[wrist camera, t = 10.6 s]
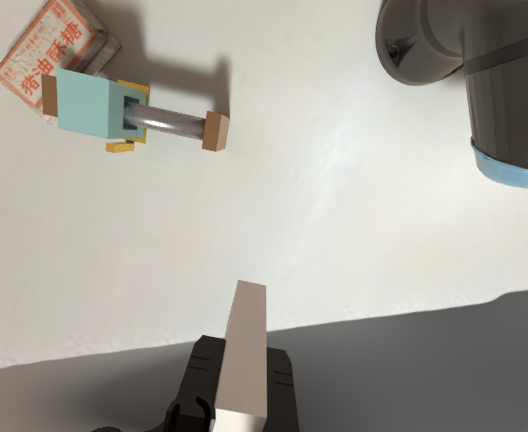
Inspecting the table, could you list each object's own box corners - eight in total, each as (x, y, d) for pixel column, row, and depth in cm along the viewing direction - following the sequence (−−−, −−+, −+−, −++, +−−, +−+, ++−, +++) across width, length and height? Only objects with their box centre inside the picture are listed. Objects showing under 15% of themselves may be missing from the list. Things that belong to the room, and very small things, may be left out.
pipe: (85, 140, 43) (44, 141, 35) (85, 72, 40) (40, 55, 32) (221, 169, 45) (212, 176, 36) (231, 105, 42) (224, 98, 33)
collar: (105, 129, 41) (58, 128, 31) (106, 84, 39) (56, 67, 29) (143, 138, 41) (107, 138, 32) (146, 93, 39) (108, 79, 30)
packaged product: (45, -34, 33) (106, 35, 35) (72, -13, 37) (124, 47, 40) (-31, 67, 36) (29, 124, 38) (2, 75, 41) (54, 125, 43)
